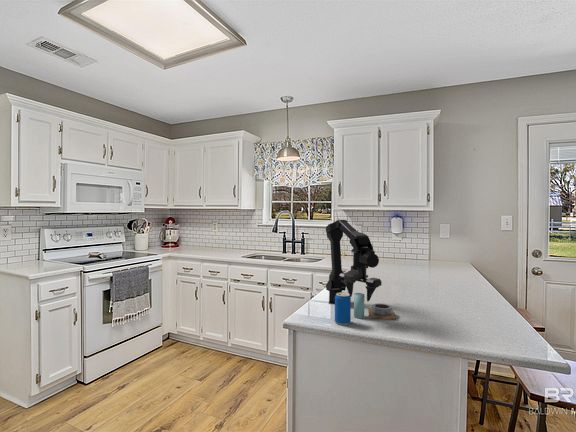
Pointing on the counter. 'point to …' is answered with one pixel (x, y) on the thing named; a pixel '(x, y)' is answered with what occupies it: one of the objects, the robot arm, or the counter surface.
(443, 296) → the counter surface
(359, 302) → the peg
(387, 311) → the collar
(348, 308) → the beverage can
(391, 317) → the base board
